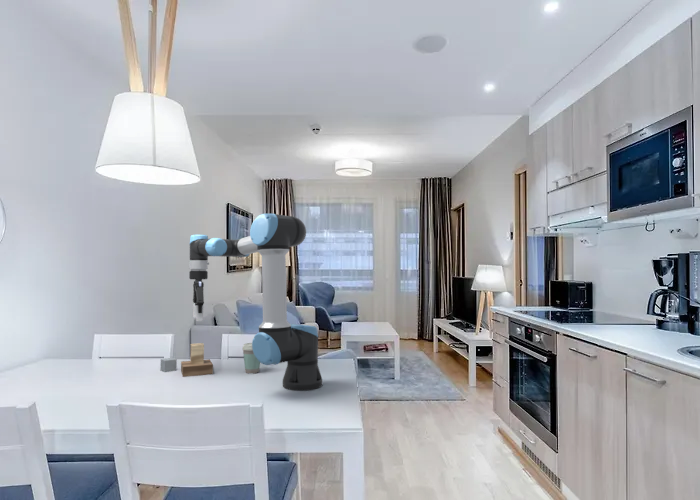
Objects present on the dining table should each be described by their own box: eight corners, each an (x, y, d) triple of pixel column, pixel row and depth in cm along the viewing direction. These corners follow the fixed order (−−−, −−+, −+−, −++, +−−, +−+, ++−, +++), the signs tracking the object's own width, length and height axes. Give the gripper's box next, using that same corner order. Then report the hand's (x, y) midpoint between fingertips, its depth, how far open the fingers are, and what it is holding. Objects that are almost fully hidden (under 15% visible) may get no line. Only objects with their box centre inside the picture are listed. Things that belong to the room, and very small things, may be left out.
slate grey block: (176, 370, 196) (176, 359, 197) (164, 372, 193) (165, 360, 193) (171, 368, 200) (171, 357, 200) (160, 370, 197) (160, 359, 197)
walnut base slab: (212, 374, 190) (213, 364, 190) (182, 376, 185) (182, 367, 185) (209, 368, 201) (209, 359, 201) (181, 370, 196) (181, 361, 196)
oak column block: (203, 363, 192) (203, 344, 192) (191, 364, 190) (191, 345, 190) (202, 361, 196) (202, 343, 196) (190, 362, 194) (190, 343, 194)
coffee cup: (264, 370, 197) (264, 342, 198) (258, 374, 189) (259, 346, 189) (245, 369, 198) (246, 342, 199) (239, 374, 190) (239, 345, 190)
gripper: (211, 270, 185) (210, 321, 184) (204, 270, 208) (203, 316, 207) (192, 270, 182) (191, 322, 181) (187, 270, 205) (186, 316, 204)
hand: (197, 319), depth 194 cm, fingers open, 13 cm apart
